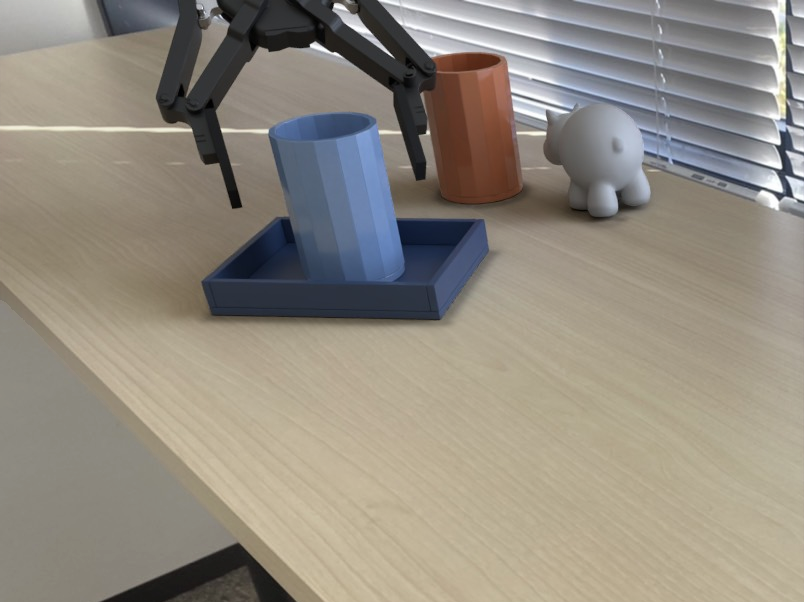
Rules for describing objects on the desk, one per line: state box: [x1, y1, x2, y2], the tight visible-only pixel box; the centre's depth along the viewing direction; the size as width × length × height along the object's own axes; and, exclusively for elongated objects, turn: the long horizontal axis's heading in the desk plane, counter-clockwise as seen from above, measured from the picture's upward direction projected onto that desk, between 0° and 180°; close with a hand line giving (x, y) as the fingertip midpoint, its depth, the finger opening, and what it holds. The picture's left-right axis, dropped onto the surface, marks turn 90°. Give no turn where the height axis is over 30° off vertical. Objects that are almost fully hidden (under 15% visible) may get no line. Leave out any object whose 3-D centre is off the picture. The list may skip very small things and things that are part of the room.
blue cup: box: [267, 111, 406, 282], centre depth 85 cm, size 7×7×11 cm
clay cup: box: [422, 51, 524, 205], centre depth 102 cm, size 7×7×11 cm
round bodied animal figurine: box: [542, 102, 651, 218], centre depth 100 cm, size 7×12×8 cm, turn 39°
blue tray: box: [200, 216, 490, 320], centre depth 88 cm, size 17×13×3 cm
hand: (330, 185), depth 87 cm, fingers open, 13 cm apart
